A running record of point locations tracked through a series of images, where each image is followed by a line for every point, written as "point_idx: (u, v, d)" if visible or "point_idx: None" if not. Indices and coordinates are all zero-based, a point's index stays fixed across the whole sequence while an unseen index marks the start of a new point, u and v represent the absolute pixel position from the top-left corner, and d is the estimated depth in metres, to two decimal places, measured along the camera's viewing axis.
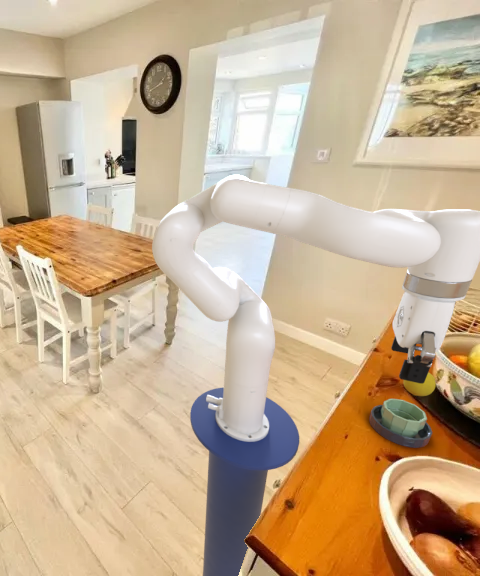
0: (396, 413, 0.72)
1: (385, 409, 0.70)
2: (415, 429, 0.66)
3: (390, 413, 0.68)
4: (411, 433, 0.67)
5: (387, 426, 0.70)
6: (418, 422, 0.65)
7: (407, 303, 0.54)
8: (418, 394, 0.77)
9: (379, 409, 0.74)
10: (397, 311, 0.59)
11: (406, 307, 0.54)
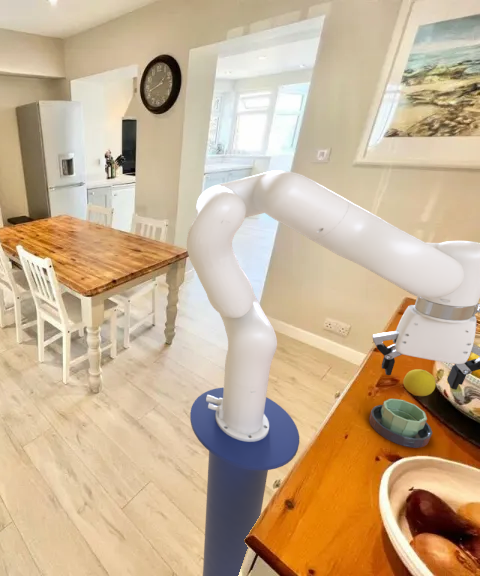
0: (396, 413, 0.72)
1: (385, 409, 0.70)
2: (415, 429, 0.66)
3: (390, 413, 0.68)
4: (411, 433, 0.67)
5: (387, 426, 0.70)
6: (418, 422, 0.65)
7: None
8: (418, 394, 0.77)
9: (379, 409, 0.74)
10: None
11: None
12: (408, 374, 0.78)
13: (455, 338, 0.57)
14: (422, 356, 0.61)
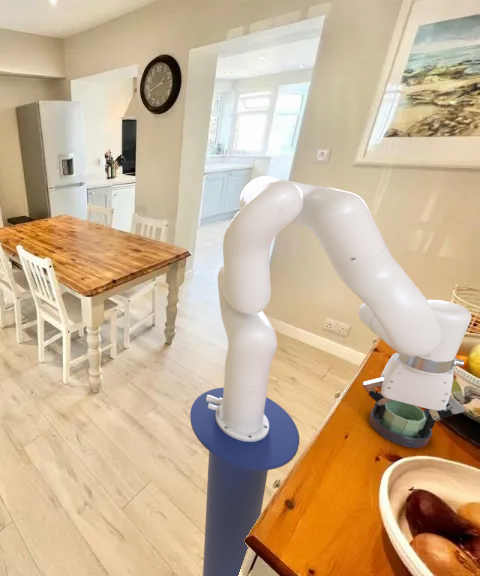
0: (396, 413, 0.72)
1: (385, 409, 0.70)
2: (415, 429, 0.66)
3: (390, 413, 0.68)
4: (411, 433, 0.67)
5: (387, 426, 0.70)
6: (418, 422, 0.65)
7: None
8: None
9: None
10: None
11: None
12: None
13: (434, 388, 0.62)
14: (405, 401, 0.66)
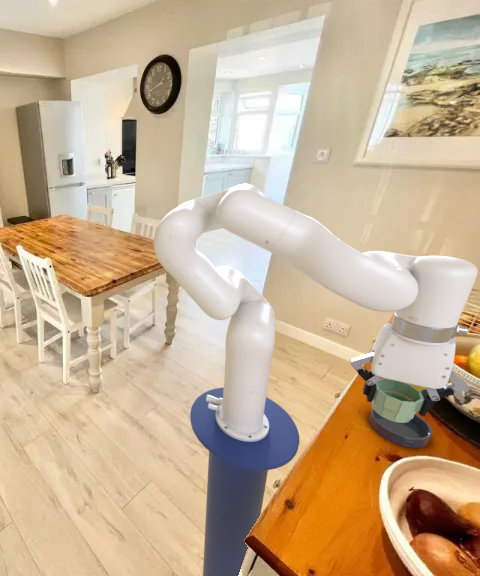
0: (389, 395, 0.62)
1: (376, 389, 0.60)
2: (411, 412, 0.56)
3: (382, 394, 0.59)
4: (406, 417, 0.58)
5: (378, 409, 0.60)
6: (414, 403, 0.56)
7: None
8: None
9: None
10: None
11: None
12: None
13: (433, 361, 0.52)
14: (398, 379, 0.56)
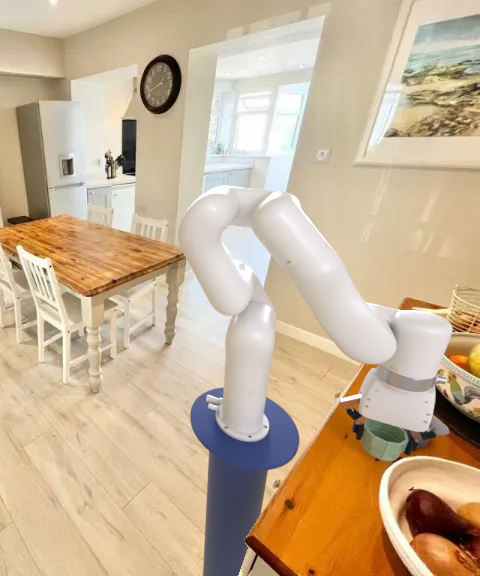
0: (377, 432, 0.66)
1: (364, 429, 0.63)
2: (396, 452, 0.60)
3: (369, 433, 0.62)
4: (392, 456, 0.61)
5: (366, 447, 0.64)
6: (399, 444, 0.59)
7: None
8: None
9: None
10: None
11: None
12: None
13: (414, 407, 0.56)
14: (384, 421, 0.60)
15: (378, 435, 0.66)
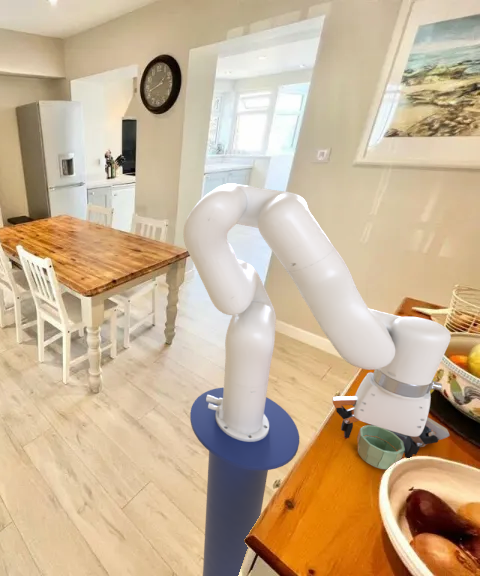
0: (373, 440, 0.67)
1: (361, 437, 0.64)
2: (392, 460, 0.61)
3: (366, 442, 0.63)
4: (388, 464, 0.62)
5: (363, 455, 0.65)
6: (395, 453, 0.60)
7: None
8: None
9: None
10: None
11: None
12: None
13: (409, 412, 0.57)
14: (378, 425, 0.61)
15: (375, 443, 0.67)
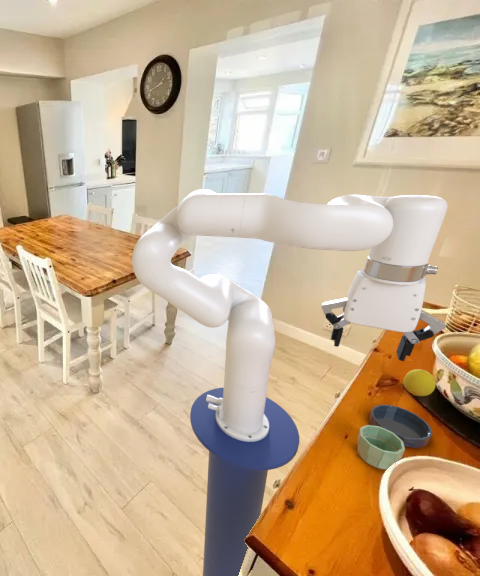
0: (374, 440, 0.67)
1: (361, 437, 0.64)
2: (392, 460, 0.61)
3: (366, 442, 0.63)
4: (388, 464, 0.62)
5: (363, 455, 0.65)
6: (395, 453, 0.60)
7: None
8: (418, 394, 0.77)
9: (379, 409, 0.74)
10: None
11: None
12: (408, 374, 0.78)
13: (403, 303, 0.53)
14: (370, 324, 0.57)
15: (375, 443, 0.67)
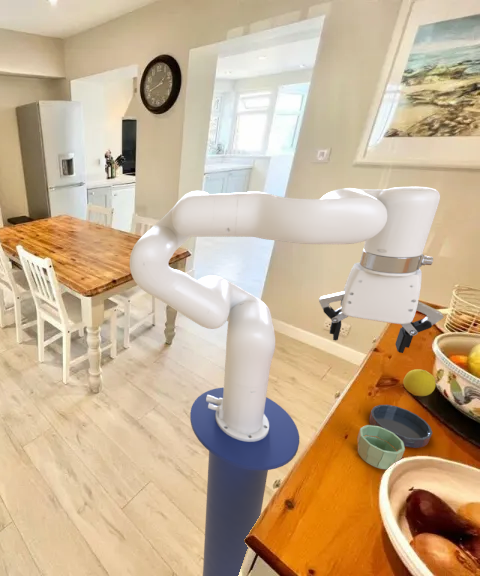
0: (374, 440, 0.67)
1: (361, 437, 0.64)
2: (392, 460, 0.61)
3: (366, 442, 0.63)
4: (388, 464, 0.62)
5: (363, 455, 0.65)
6: (395, 453, 0.60)
7: None
8: (418, 394, 0.77)
9: (379, 409, 0.74)
10: None
11: None
12: (408, 374, 0.78)
13: (399, 295, 0.53)
14: (367, 317, 0.57)
15: (375, 443, 0.67)
